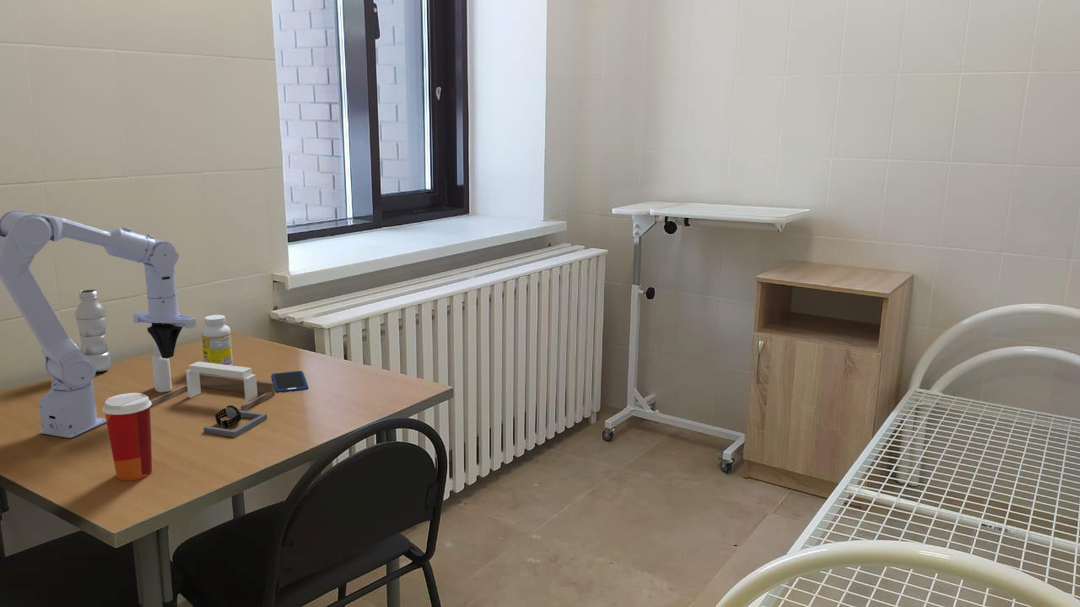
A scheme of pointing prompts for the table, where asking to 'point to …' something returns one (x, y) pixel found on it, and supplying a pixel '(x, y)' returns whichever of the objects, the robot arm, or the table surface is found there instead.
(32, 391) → the table surface
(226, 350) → the supplement bottle
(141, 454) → the paper cup
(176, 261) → the robot arm
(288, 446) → the table surface
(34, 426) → the table surface
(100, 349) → the plastic bottle
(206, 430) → the frame
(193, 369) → the clamp arch
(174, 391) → the track
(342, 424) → the table surface
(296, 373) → the cell phone
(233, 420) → the smartwatch
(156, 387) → the eye dropper bottle
